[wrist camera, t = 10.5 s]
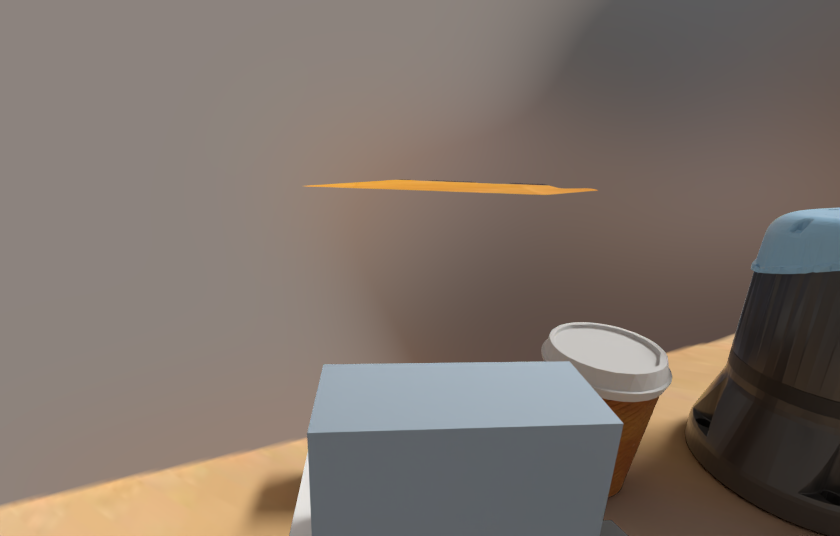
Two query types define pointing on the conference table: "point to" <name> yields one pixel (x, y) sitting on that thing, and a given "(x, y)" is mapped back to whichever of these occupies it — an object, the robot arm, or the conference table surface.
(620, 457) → the disposable coffee cup
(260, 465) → the conference table surface
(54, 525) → the conference table surface
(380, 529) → the slate domino
